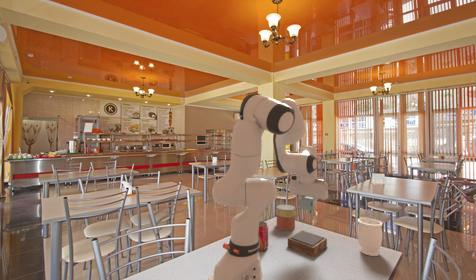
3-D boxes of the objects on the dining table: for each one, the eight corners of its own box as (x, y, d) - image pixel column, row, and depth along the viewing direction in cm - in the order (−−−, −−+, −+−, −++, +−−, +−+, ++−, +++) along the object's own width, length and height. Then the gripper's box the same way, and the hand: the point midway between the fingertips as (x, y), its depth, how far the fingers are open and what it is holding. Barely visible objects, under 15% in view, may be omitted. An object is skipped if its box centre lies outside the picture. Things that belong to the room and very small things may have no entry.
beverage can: (251, 243, 117) (251, 220, 117) (266, 243, 117) (266, 220, 117) (253, 251, 109) (253, 227, 109) (269, 251, 110) (269, 226, 109)
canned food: (293, 223, 145) (293, 204, 145) (296, 230, 134) (296, 210, 134) (276, 222, 146) (276, 204, 146) (276, 229, 135) (277, 209, 135)
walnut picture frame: (313, 256, 105) (313, 246, 105) (287, 246, 114) (287, 237, 114) (326, 246, 114) (326, 237, 114) (301, 237, 124) (301, 229, 124)
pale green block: (314, 207, 115) (315, 197, 115) (308, 210, 110) (308, 200, 110) (306, 205, 118) (306, 196, 118) (299, 208, 113) (299, 198, 113)
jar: (369, 245, 115) (370, 216, 115) (387, 256, 105) (388, 224, 105) (352, 248, 112) (352, 218, 112) (368, 259, 102) (369, 226, 102)
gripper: (330, 179, 109) (330, 208, 109) (293, 174, 123) (293, 199, 124) (325, 181, 104) (324, 211, 105) (287, 176, 119) (287, 202, 119)
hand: (307, 205), depth 114 cm, fingers closed on pale green block, 4 cm apart
